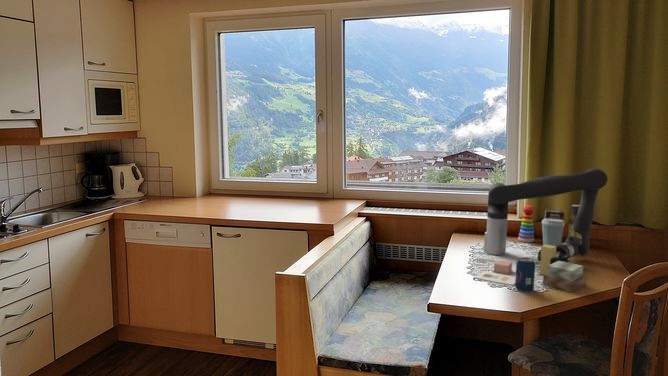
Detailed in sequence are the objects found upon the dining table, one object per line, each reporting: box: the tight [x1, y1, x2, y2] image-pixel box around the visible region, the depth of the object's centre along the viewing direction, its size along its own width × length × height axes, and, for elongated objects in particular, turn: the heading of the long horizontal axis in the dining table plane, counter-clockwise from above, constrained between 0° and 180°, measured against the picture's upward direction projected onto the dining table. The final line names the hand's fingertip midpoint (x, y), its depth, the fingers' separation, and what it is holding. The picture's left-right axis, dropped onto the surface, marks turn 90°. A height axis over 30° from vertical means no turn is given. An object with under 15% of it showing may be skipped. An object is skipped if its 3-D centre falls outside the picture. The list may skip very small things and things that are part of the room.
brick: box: [493, 259, 513, 275], centre depth 246 cm, size 6×6×4 cm
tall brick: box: [538, 244, 556, 276], centre depth 242 cm, size 4×4×12 cm
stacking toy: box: [517, 204, 535, 243], centre depth 297 cm, size 8×8×19 cm
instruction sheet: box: [473, 270, 516, 286], centre depth 237 cm, size 16×11×1 cm
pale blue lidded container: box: [544, 208, 565, 244], centre depth 297 cm, size 9×6×16 cm
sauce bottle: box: [567, 204, 582, 239], centre depth 292 cm, size 6×6×20 cm
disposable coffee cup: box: [541, 218, 566, 246], centre depth 282 cm, size 11×11×15 cm
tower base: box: [542, 261, 587, 293], centre depth 229 cm, size 12×12×8 cm
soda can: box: [514, 256, 536, 293], centre depth 223 cm, size 7×7×12 cm
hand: (545, 260), depth 240 cm, fingers closed on tall brick, 4 cm apart
